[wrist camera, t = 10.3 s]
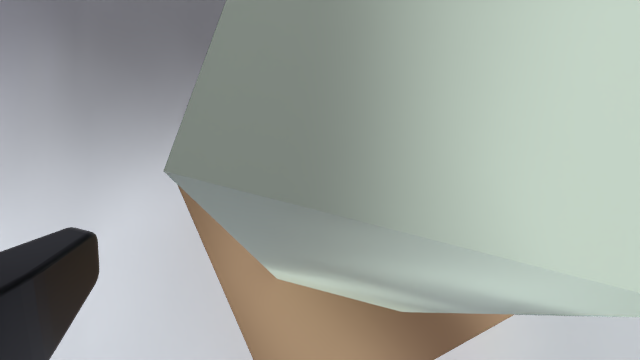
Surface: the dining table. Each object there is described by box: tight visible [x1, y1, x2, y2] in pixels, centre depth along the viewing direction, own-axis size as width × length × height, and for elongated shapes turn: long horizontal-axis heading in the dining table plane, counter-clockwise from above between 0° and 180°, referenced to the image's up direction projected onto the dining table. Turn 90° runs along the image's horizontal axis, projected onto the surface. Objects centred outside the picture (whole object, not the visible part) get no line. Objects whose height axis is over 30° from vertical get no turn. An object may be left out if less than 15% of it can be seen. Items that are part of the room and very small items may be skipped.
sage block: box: [164, 0, 640, 317], centre depth 10 cm, size 4×4×13 cm
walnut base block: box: [177, 184, 514, 360], centre depth 19 cm, size 10×10×4 cm
